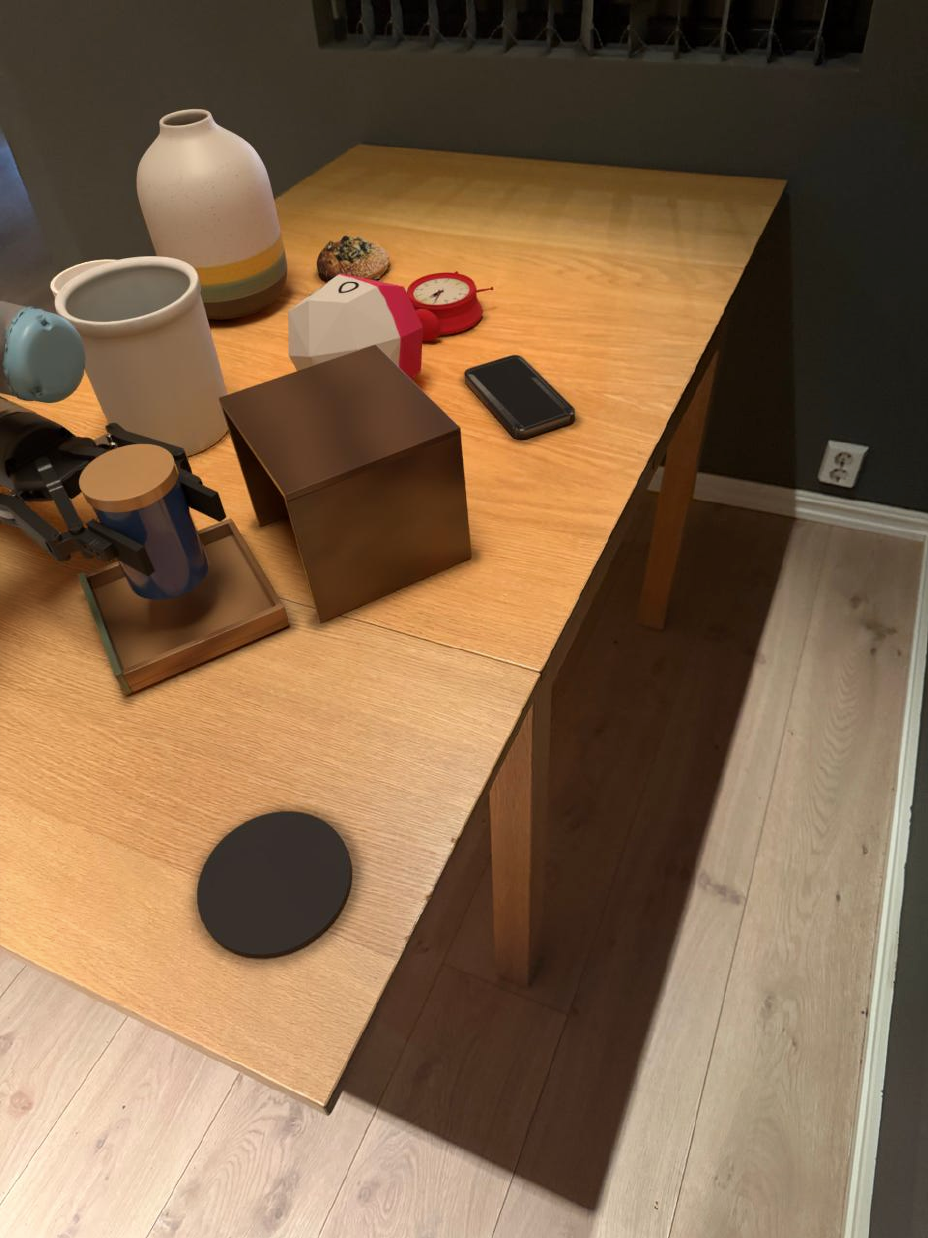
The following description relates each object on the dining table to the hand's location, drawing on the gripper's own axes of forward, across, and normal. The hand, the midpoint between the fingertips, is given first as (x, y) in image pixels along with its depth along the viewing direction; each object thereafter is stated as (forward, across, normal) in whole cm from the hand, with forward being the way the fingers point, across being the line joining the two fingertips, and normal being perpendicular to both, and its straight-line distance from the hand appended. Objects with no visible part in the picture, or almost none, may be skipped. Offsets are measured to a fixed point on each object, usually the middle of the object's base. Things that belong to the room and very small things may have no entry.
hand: (183, 533), depth 72 cm
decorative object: (-14, -37, -12) cm, 42 cm away
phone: (+3, -45, -12) cm, 47 cm away
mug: (-49, -29, -12) cm, 59 cm away
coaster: (+22, +15, -12) cm, 29 cm away
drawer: (-5, -1, -12) cm, 13 cm away
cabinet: (+3, -17, -12) cm, 21 cm away
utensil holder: (-29, -20, -12) cm, 38 cm away
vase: (-46, -46, -12) cm, 67 cm away
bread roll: (-37, -62, -12) cm, 74 cm away
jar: (-5, 0, -7) cm, 8 cm away
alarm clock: (-17, -55, -12) cm, 59 cm away
